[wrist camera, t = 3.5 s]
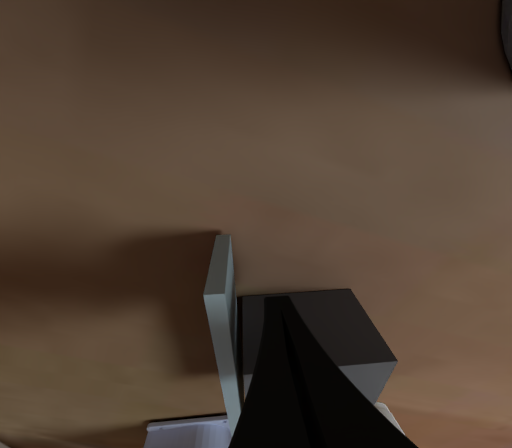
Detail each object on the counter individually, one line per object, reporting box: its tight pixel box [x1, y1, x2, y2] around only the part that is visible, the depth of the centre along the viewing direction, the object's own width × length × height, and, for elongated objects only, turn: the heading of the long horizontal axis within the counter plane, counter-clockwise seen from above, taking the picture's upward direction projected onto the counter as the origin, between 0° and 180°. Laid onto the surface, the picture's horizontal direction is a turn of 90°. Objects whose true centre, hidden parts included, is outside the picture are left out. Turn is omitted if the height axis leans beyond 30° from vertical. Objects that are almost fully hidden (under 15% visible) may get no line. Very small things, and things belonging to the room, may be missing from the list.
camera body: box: [243, 289, 398, 405], centre depth 14 cm, size 8×10×6 cm
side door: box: [203, 234, 244, 436], centre depth 13 cm, size 1×15×4 cm, turn 1°
